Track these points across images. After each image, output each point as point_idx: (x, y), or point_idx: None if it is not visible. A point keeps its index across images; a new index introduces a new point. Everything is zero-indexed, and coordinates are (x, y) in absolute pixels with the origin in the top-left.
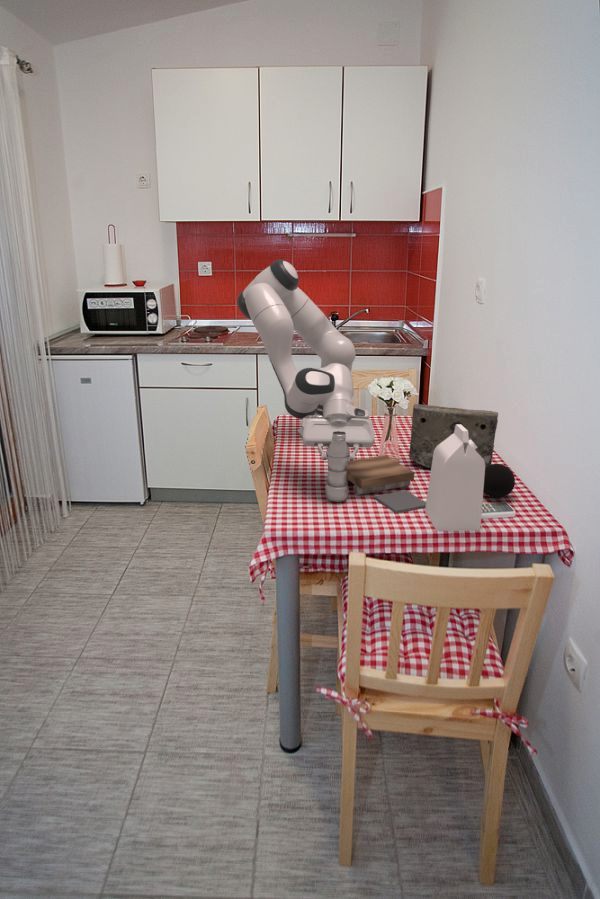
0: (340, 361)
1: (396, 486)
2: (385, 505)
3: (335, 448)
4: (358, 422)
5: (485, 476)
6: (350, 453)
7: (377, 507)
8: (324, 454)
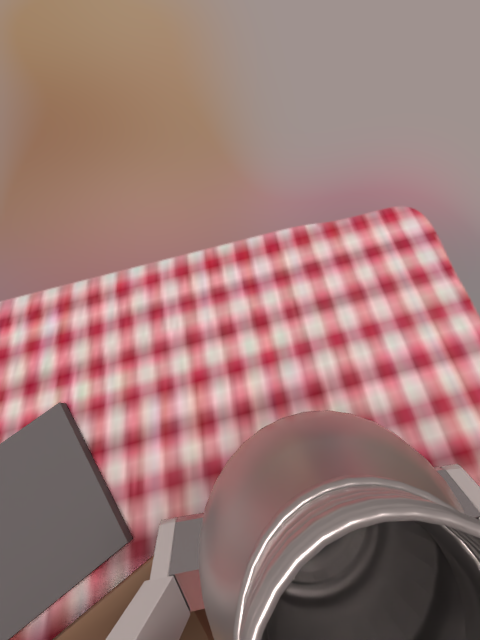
0: None
1: None
2: (92, 460)
3: (351, 434)
4: None
5: None
6: (196, 562)
7: (124, 444)
8: (453, 492)
